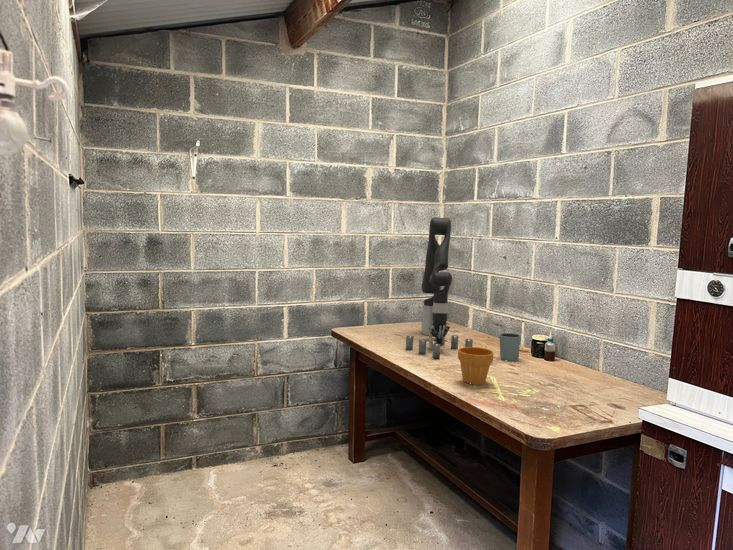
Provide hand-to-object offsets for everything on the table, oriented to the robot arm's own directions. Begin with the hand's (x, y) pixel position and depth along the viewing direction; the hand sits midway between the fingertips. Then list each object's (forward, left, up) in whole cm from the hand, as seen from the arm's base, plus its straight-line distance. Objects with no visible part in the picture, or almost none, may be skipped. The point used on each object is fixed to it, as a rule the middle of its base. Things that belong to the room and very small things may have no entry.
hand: (438, 345), depth 266 cm
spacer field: (0, 0, -3) cm, 3 cm away
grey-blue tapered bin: (+28, +20, -3) cm, 35 cm away
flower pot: (+46, -23, -3) cm, 52 cm away
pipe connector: (-5, 0, -3) cm, 6 cm away
